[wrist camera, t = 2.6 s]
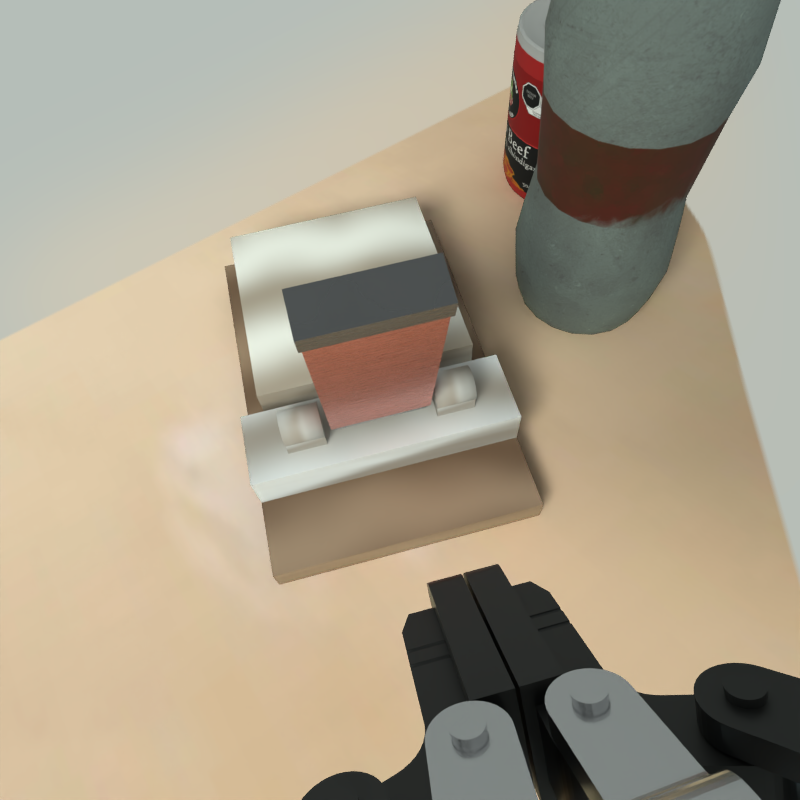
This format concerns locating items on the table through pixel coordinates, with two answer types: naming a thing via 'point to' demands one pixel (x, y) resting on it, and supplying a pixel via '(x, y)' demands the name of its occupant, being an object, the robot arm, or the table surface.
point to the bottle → (625, 145)
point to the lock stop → (374, 337)
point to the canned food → (526, 98)
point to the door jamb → (376, 440)
